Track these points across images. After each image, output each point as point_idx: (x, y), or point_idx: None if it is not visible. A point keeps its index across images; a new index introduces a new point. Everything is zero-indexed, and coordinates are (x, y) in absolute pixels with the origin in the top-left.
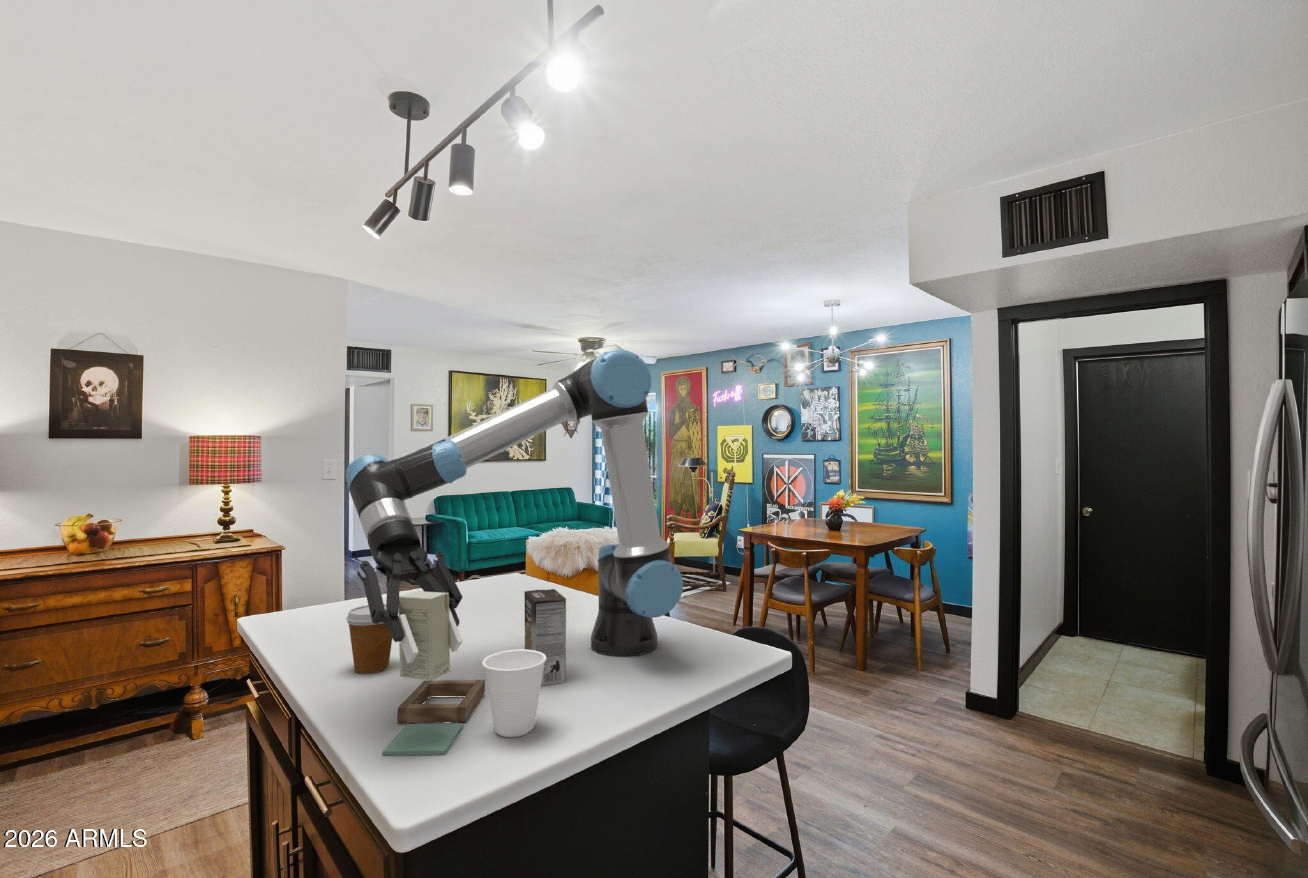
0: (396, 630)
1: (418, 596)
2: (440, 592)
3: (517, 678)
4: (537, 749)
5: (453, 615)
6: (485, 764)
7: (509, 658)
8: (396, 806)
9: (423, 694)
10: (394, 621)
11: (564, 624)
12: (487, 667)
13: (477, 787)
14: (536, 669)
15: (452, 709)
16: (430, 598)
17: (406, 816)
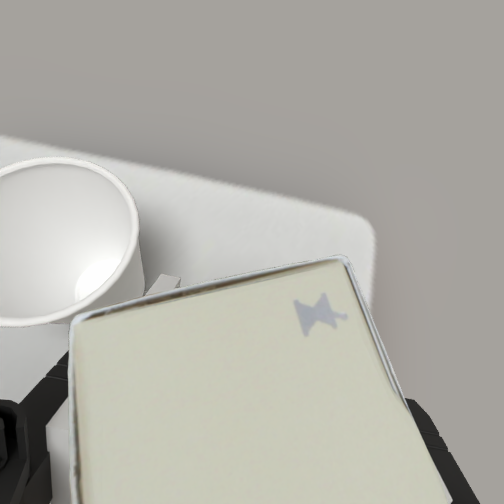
0: (428, 436)
1: (390, 464)
2: (70, 459)
3: (116, 192)
4: (152, 212)
5: (66, 384)
6: (226, 243)
7: None
8: (359, 260)
9: None
10: (459, 496)
11: None
12: (133, 248)
13: (272, 211)
14: (65, 168)
15: None
16: (344, 270)
17: (360, 233)
